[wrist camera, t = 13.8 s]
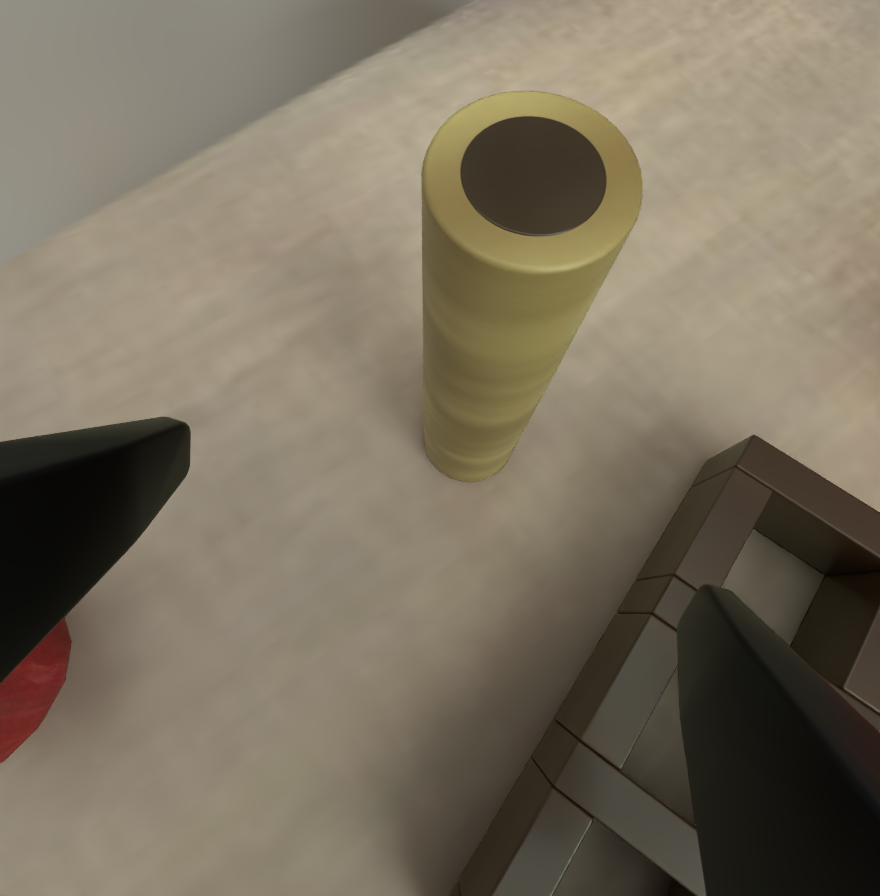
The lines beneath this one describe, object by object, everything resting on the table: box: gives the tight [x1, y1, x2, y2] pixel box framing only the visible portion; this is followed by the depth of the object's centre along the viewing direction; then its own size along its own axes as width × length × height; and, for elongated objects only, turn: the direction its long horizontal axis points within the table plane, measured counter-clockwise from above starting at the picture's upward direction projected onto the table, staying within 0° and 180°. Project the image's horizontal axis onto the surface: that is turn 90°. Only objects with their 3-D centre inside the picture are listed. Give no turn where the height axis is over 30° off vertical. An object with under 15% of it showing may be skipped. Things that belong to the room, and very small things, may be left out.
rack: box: [449, 435, 880, 896], centre depth 16 cm, size 17×6×3 cm, turn 144°
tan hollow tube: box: [422, 91, 642, 482], centre depth 14 cm, size 3×3×12 cm
